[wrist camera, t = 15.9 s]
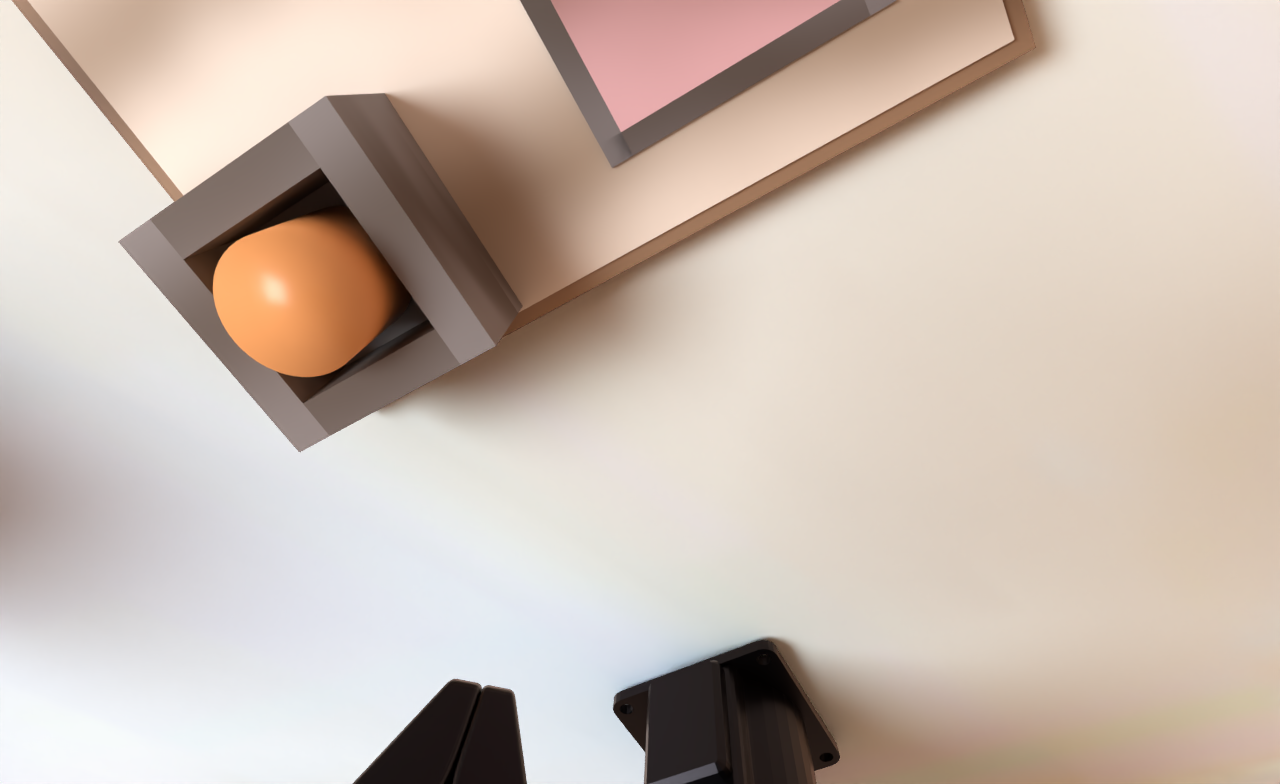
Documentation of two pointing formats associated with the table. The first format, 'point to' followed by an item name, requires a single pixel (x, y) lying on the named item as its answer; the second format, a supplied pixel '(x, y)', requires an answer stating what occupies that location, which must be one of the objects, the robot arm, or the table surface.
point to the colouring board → (487, 141)
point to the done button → (307, 293)
